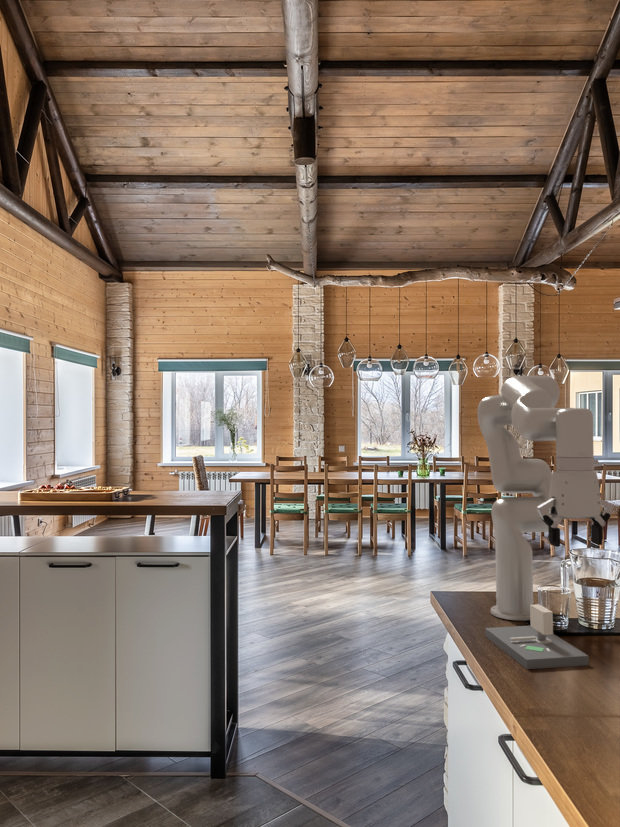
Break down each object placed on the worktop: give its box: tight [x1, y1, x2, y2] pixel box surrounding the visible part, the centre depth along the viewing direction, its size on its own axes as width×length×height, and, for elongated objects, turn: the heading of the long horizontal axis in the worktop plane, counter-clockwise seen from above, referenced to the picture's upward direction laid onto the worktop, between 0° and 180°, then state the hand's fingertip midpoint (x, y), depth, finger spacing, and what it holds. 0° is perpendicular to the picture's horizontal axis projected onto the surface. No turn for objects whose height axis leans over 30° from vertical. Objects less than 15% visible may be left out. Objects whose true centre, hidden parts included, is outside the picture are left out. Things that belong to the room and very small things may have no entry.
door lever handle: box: [510, 603, 554, 641], centre depth 153 cm, size 6×9×7 cm
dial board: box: [484, 625, 590, 670], centre depth 153 cm, size 22×14×2 cm, turn 8°
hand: (575, 544), depth 144 cm, fingers open, 9 cm apart
